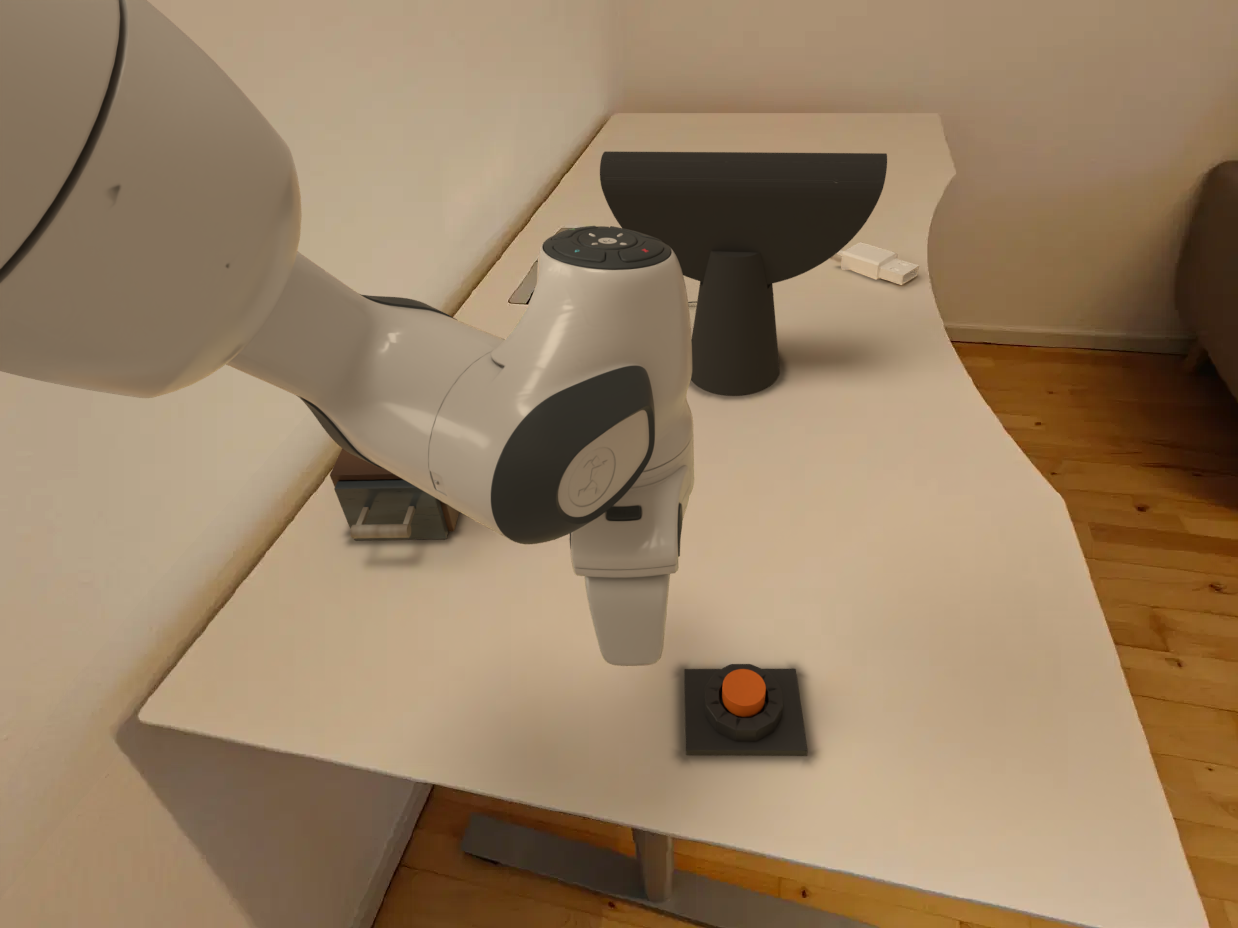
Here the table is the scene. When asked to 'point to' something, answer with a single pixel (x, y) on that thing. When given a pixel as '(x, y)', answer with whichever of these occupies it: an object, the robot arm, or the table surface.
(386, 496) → the drawer
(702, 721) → the block
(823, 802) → the table surface
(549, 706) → the table surface
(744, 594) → the table surface
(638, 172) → the table lamp
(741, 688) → the button
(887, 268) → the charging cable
